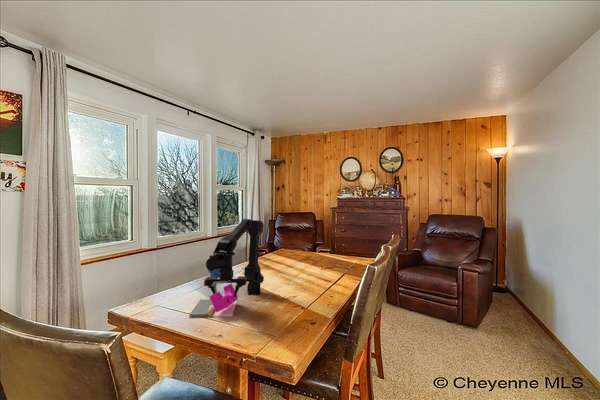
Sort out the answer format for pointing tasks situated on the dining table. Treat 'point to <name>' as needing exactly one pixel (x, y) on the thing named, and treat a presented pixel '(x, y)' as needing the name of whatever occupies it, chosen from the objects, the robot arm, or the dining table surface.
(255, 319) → the dining table surface
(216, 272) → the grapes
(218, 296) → the toy block
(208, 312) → the hinge leaf
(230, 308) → the leaf pad
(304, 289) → the dining table surface
